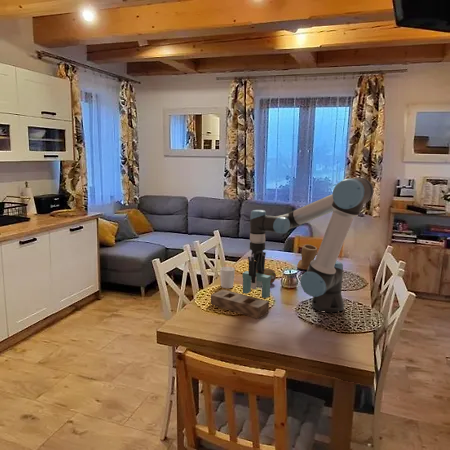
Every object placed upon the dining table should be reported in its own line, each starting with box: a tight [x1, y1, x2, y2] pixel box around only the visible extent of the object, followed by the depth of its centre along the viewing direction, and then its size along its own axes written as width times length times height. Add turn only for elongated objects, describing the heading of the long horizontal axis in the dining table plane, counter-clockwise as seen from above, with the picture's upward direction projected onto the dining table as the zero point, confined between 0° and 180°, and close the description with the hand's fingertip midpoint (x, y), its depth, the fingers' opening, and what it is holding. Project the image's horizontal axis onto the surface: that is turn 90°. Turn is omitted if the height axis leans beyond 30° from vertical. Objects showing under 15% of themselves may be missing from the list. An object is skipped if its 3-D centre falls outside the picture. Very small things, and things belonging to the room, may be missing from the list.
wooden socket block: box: [210, 289, 270, 319], centre depth 190 cm, size 26×10×5 cm, turn 55°
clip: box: [242, 270, 271, 299], centre depth 201 cm, size 14×4×10 cm, turn 55°
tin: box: [256, 268, 277, 285], centre depth 228 cm, size 15×3×8 cm, turn 68°
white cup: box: [219, 266, 236, 289], centre depth 220 cm, size 8×8×10 cm
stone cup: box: [296, 243, 318, 271], centre depth 258 cm, size 15×12×15 cm
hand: (256, 287), depth 202 cm, fingers closed on clip, 4 cm apart
